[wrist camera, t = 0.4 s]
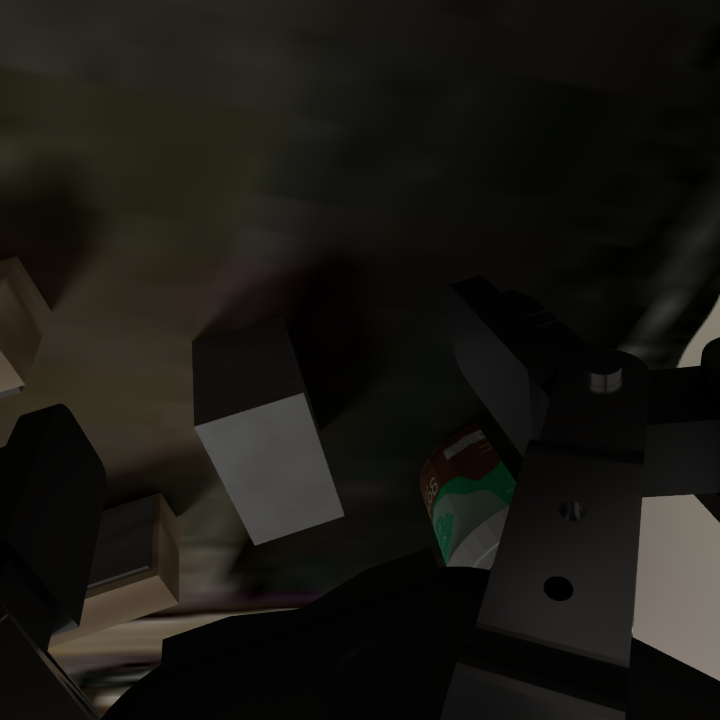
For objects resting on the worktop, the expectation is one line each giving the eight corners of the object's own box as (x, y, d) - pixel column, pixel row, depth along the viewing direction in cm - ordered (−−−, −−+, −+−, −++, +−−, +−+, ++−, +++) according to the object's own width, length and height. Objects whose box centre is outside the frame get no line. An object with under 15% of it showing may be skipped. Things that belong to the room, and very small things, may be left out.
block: (191, 341, 31) (194, 426, 26) (282, 314, 32) (303, 392, 26) (243, 454, 37) (254, 545, 31) (319, 430, 37) (344, 515, 32)
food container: (387, 439, 39) (440, 565, 31) (473, 407, 39) (547, 524, 31) (420, 543, 47) (469, 666, 39) (492, 516, 47) (556, 632, 39)
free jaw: (28, 529, 35) (4, 620, 31) (158, 488, 36) (154, 570, 31) (56, 561, 38) (38, 651, 33) (178, 521, 38) (178, 603, 33)
